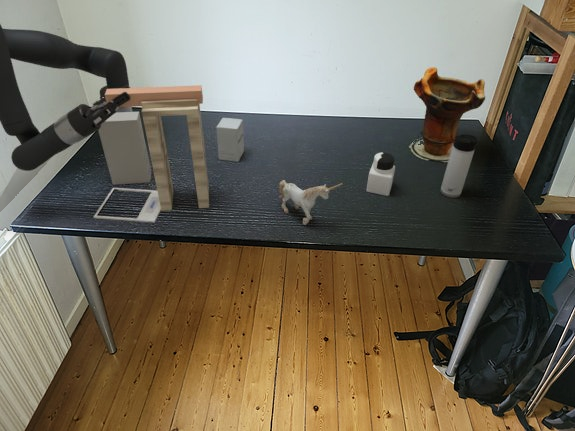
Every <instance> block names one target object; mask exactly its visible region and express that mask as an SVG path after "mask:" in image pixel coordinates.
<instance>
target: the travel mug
mask: <svg viewBox="0 0 575 431" xmlns="http://www.w3.org/2000/svg"><path fill="white" fill-rule="evenodd" d="M477 144H478V138H477V137H476V136H474V135H471V134H465V133H464V134H463V133H462V134H460V135H455V140H454V142H453V147H452V150H451V154H450V157H449V161H448V162H447V165H446V168H445V172H444V175H443V179H442V183H441V186H440V193H441V194H442V195H444V196H445V197H448V198H451V199H452V198H453V199H455V198H458V197H460V196H461V194H462V191H463V188H464V186H465V182H466V180H467V179H466V178H467V176H468V172H469V170H470V169H469V168H470V166H471V163H472V160H473V156H474V153H475V150H476V147H477Z"/></svg>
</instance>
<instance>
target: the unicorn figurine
mask: <svg viewBox="0 0 575 431" xmlns="http://www.w3.org/2000/svg"><path fill="white" fill-rule="evenodd" d="M342 185H343V182H342V183H339V184H337V185H334V186H331V187H326V186H327V184H326V183H325V184H324V185H320V186H319V185H318V186H313V187H309V188H307V189H304V190H303V189H301V188H300V187H298V186H297V185H296V183H292V182H289V183H287V182H286V180H285V179H283V180H281V181H280V182H279V184H278V188H279V193H280V195H279V196H278V199H282V203H281V208H282V210H283V212H284V213H285V214H288V213H290V211H289V209H288V207H287V205H286V202H287V201H288V200H289V199H291V200H292V202H293V204H294V209H295V210H299V209H300V207H301V208H302V210H303V212H304V215H305V217H303V218H302V225H304V226H306V225H307V224H309V222H310V220H311V221H312V220H313V217H312V215H311V214H310V213H311V209H312V208H313V207H314V206H315V204H316V199H317V198H318V197H319V196H320V197H321V198H322V199H324V200H327V199H329V194H330V191H332V190H335V189H337V188H338V187H340V186H342Z"/></svg>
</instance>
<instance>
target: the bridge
mask: <svg viewBox="0 0 575 431" xmlns="http://www.w3.org/2000/svg"><path fill="white" fill-rule="evenodd" d="M141 104H142V106H141V107H142V108H141V116H142V119H143V126H144V129H145V134H146V139H147V140H146V141H147V145H148V150H149V154H150V155H149V156H150V160H151V161H150V162H151V164H152V170H153V175H154V180H155V185H156V191H158V196H159V201H160V206H161V211H162V212H163V211H164V212H165V211H172V209H173V199H174V192H175V190H174V186H173V185H174V184H173V181H172V180H173V179H172V174H171V166H170V161H169V158H168V150H167V144H166V138H165V134H164V128H163V123H162V117H171V116H186V120H187V121H186V122H187V128H188V136H189V144H190V151H191V159H192V165H193V174H194V180H195V188H196V196H197V204H198V209H208V208H209V209H210V188H209V187H210V186H209V185H210V184H209V177H208V176H209V175H208V168H207V158H206V157H207V156H206V151H205V140H204V133H203V132H204V131H203V123H202V122H203V121H202V114H201V104H198V101H197V99H185V100H161V101H142V102H141ZM161 211H160V212H161Z"/></svg>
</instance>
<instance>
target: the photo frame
mask: <svg viewBox="0 0 575 431" xmlns="http://www.w3.org/2000/svg"><path fill="white" fill-rule="evenodd" d="M115 190H117V191H118V192H119V191H120V192H133V193H148V194H149V196H148V198H147V199H146V201H145V204H144V205H143V206H142V209H141V211H140V212H139V213H138V214H139V215H138V216H137V217H136V218H135V217H132V218H131V217H121V216H106V215H98V214H99V213H100V211H101V210H102V209H103V206H104V205H105V204H106V202H107V201H108V199H109V198H110V197H111V195H112V193H113V191H115ZM160 213H161V206H160V201H159V196H158V191H157V189H156V190H154V189H140V188H138V189H137V188H136V189H135V188H126V187H125V188H123V187H112V188H111V190H110V191H109V193H108V195H107V196H106V198H105V199H104V201H103V202H102V203H101V205H100V206H99V208H98V209H97V211H96V212H95V214H94V215H93V219H99V220H101V219H103V220H116V221H125V222H126V221H128V222H142V223H145V222H146V223H153V224H154V223H155V222H156V221H157V219H158V217H159V215H160Z"/></svg>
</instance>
